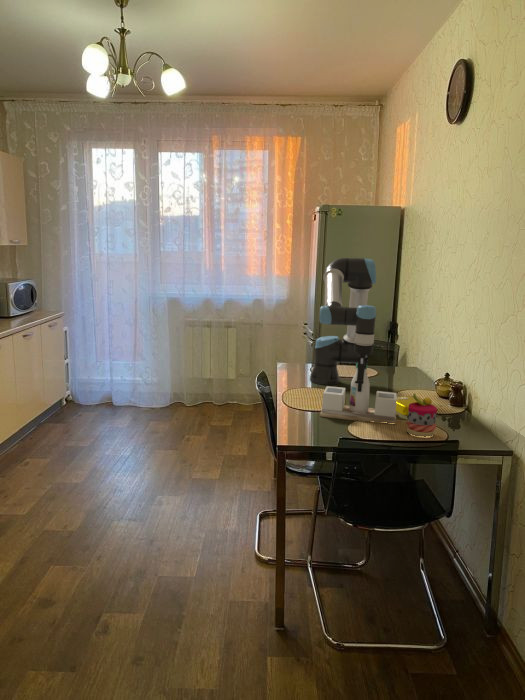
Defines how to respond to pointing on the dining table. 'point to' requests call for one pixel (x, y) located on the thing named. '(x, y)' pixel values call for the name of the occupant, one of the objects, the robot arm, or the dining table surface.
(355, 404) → the milk bottle
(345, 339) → the robot arm
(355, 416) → the mounting board
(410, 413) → the cake
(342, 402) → the mounted modules
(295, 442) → the dining table surface
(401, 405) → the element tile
